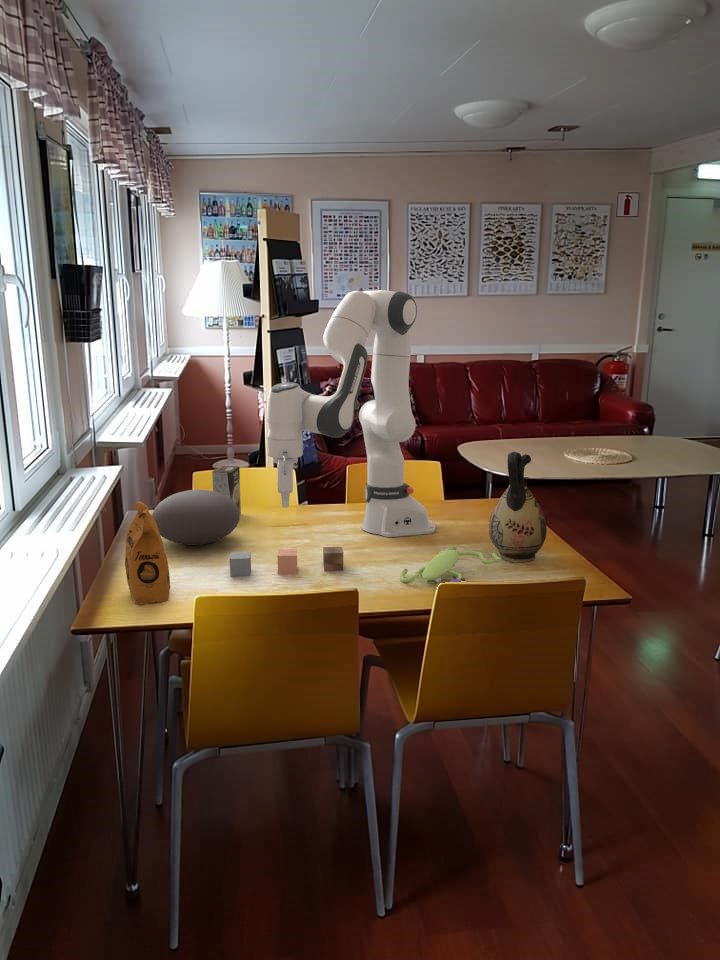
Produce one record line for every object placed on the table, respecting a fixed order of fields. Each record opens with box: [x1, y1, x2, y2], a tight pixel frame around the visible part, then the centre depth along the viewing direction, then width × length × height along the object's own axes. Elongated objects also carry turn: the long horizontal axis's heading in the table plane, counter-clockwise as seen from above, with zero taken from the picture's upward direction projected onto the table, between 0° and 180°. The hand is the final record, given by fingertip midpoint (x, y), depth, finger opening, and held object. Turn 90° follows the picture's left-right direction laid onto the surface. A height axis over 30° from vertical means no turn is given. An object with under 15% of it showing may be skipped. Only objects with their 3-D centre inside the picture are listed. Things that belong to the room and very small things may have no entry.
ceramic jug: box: [488, 451, 548, 563], centre depth 204 cm, size 17×15×30 cm
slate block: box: [229, 551, 252, 578], centre depth 196 cm, size 5×5×5 cm
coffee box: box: [211, 465, 242, 515], centre depth 243 cm, size 9×6×16 cm
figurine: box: [399, 545, 501, 584], centre depth 195 cm, size 18×26×6 cm
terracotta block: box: [276, 548, 298, 575], centre depth 198 cm, size 5×5×5 cm
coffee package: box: [124, 501, 171, 606], centre depth 179 cm, size 10×12×22 cm
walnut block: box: [322, 546, 344, 572], centre depth 200 cm, size 5×5×5 cm
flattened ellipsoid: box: [151, 489, 241, 546], centre depth 219 cm, size 25×25×15 cm
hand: (285, 501), depth 194 cm, fingers open, 8 cm apart
